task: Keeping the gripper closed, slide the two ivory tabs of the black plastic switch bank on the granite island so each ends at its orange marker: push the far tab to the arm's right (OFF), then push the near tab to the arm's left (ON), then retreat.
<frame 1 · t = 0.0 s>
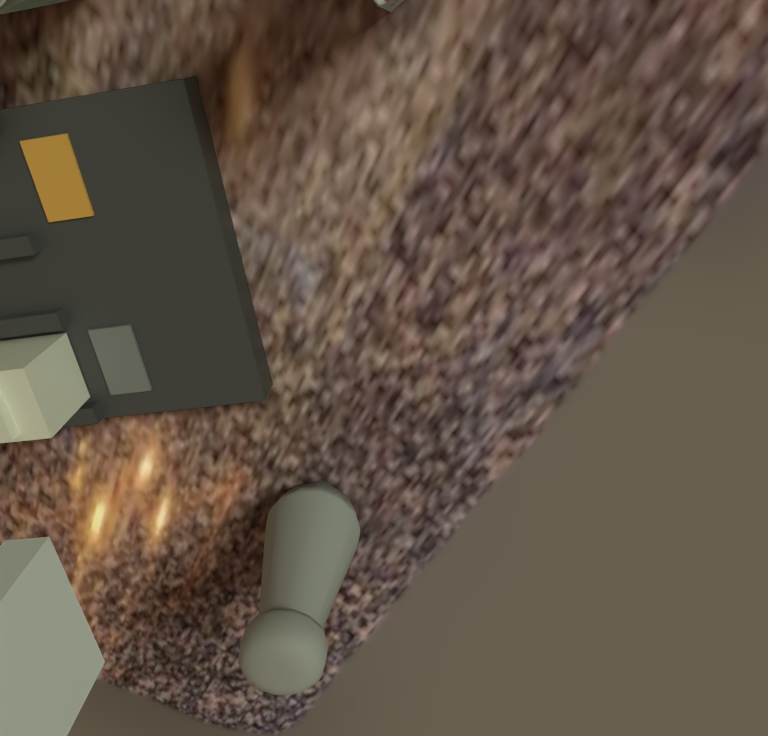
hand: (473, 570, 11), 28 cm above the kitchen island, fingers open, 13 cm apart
salt shaker: (318, 504, 45), on the kitchen island
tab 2: (21, 390, 37), point 5 cm above the kitchen island, slide at 10.0 cm
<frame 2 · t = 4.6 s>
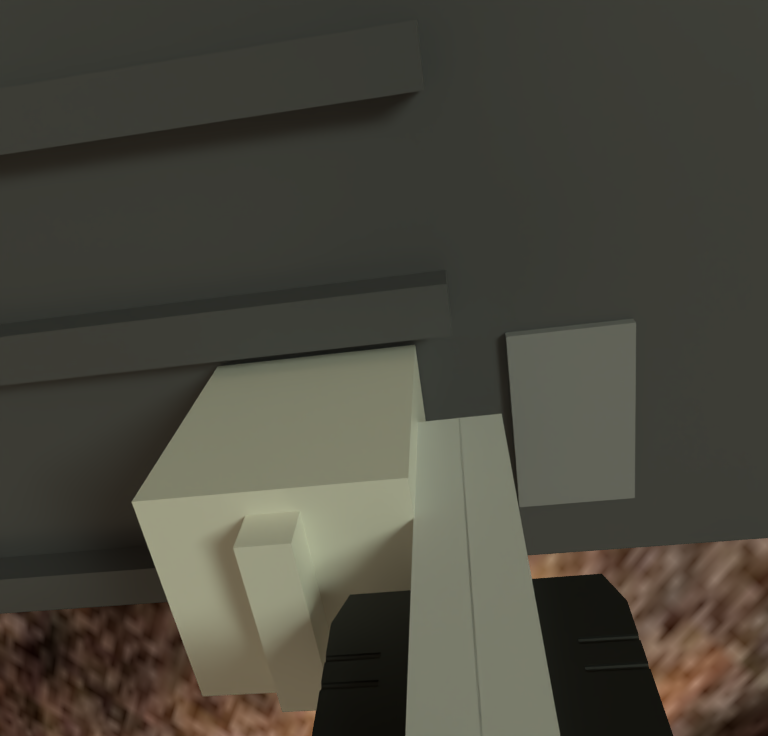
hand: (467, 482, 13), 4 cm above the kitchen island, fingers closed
switch bank: (230, 192, 15), on the kitchen island
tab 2: (313, 519, 12), point 5 cm above the kitchen island, slide at 9.5 cm, touching gripper
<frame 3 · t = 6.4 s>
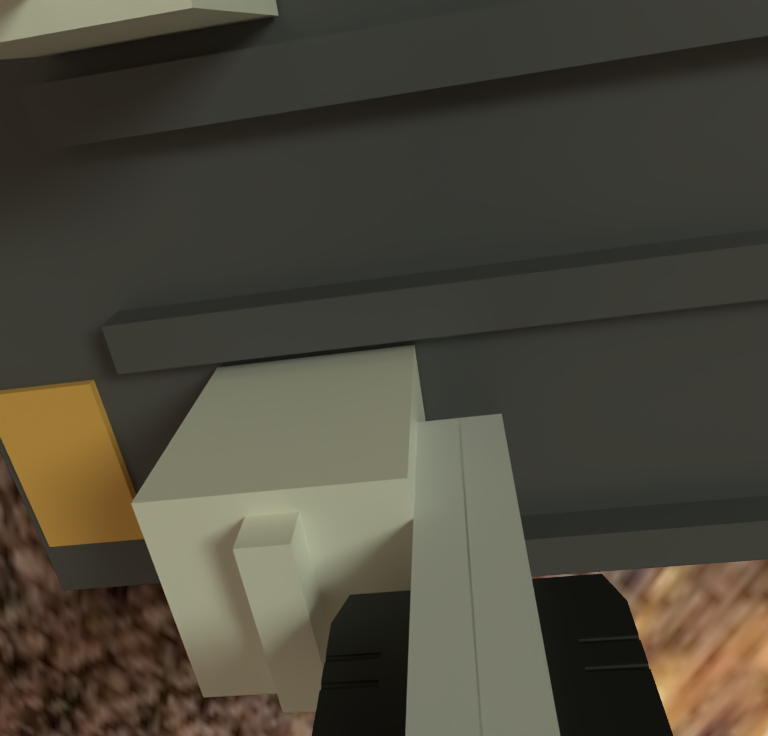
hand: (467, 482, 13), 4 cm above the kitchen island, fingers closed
switch bank: (630, 135, 14), on the kitchen island
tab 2: (313, 520, 12), point 5 cm above the kitchen island, slide at 1.4 cm, touching gripper
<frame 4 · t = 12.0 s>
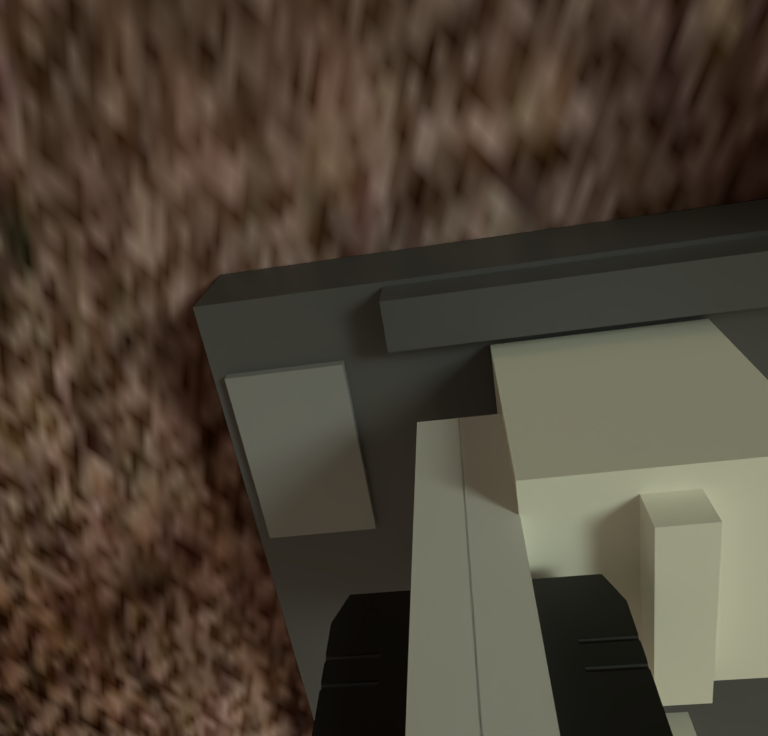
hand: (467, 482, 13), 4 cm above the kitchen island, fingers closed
tab 1: (634, 502, 12), point 5 cm above the kitchen island, slide at 1.6 cm, touching gripper
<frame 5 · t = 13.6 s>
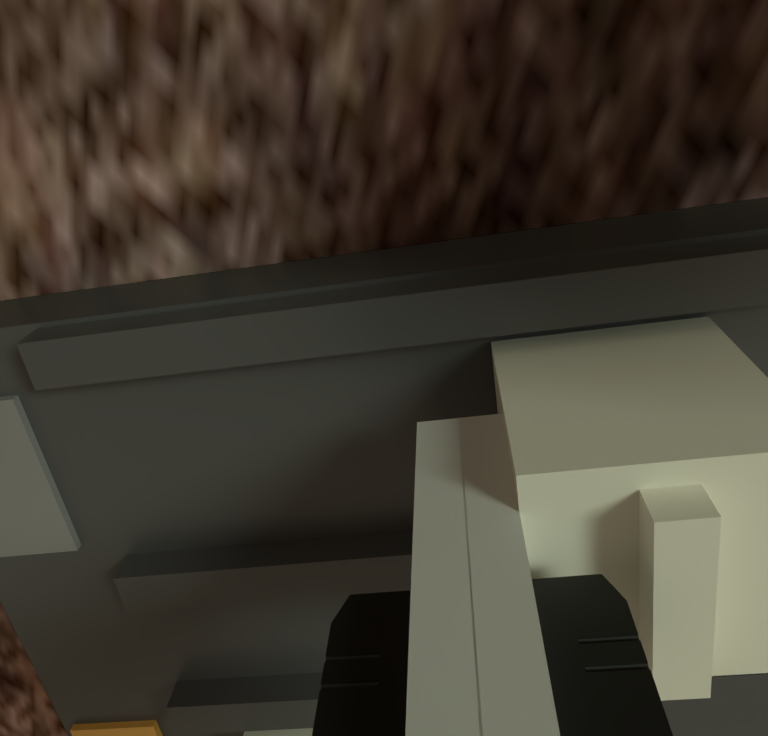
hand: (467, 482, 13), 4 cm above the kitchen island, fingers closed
switch bank: (563, 549, 18), on the kitchen island
tab 1: (633, 498, 12), point 5 cm above the kitchen island, slide at 8.6 cm, touching gripper
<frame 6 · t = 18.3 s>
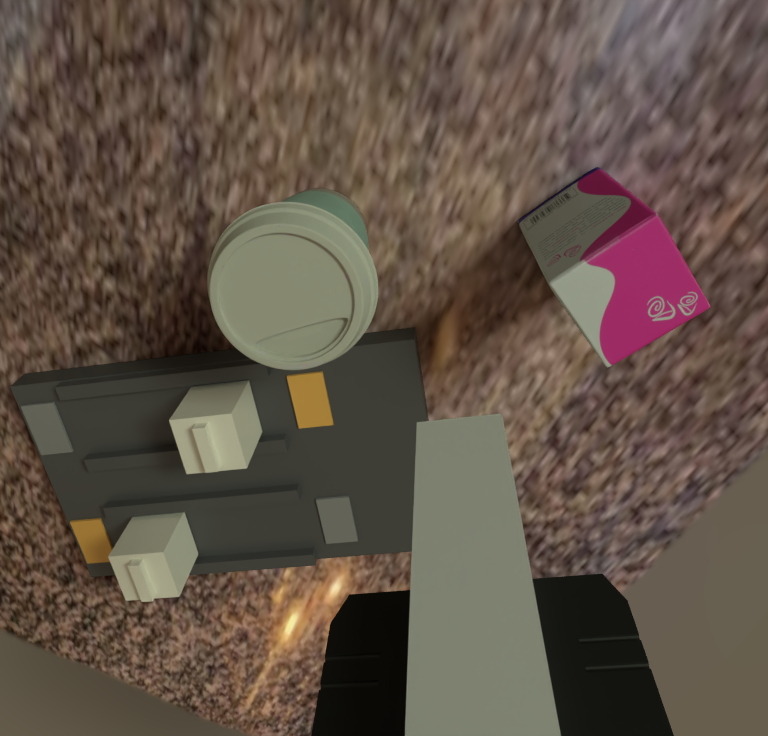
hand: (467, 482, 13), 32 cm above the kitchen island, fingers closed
switch bank: (242, 455, 52), on the kitchen island
coffee cup: (322, 233, 44), on the kitchen island
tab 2: (153, 558, 50), point 5 cm above the kitchen island, slide at 1.3 cm
supplement box: (580, 230, 43), on the kitchen island
tab 1: (216, 429, 45), point 5 cm above the kitchen island, slide at 8.7 cm
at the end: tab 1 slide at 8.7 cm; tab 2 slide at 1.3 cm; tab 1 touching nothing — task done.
